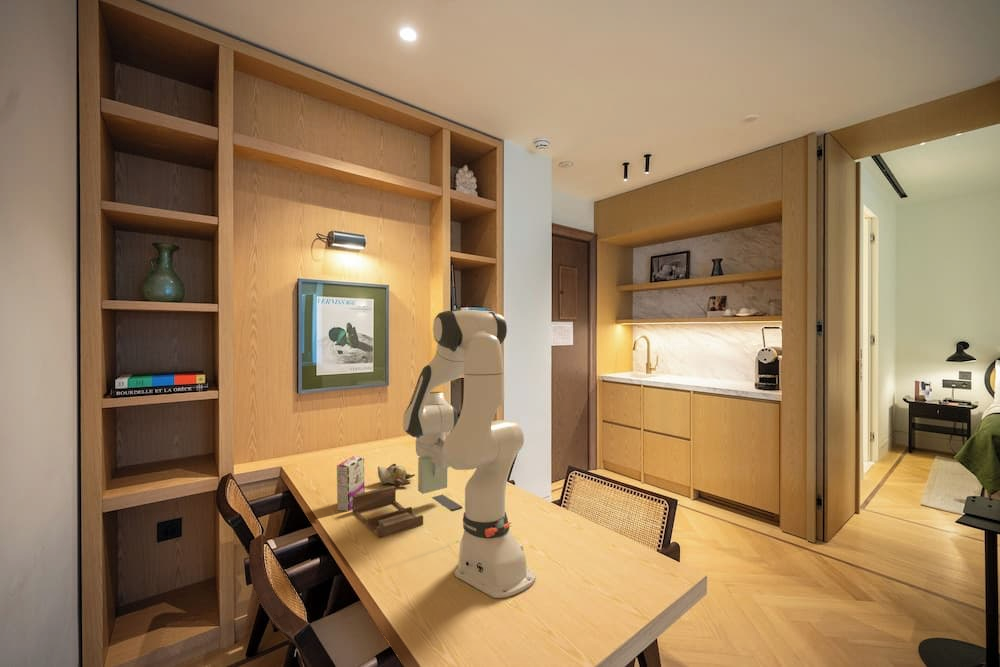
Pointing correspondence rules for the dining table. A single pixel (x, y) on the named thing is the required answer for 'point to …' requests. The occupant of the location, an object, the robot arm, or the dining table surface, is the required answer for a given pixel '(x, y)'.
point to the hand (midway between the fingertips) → (432, 473)
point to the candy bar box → (349, 482)
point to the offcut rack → (378, 500)
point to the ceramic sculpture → (394, 475)
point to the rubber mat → (447, 502)
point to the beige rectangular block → (430, 476)
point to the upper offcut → (395, 519)
